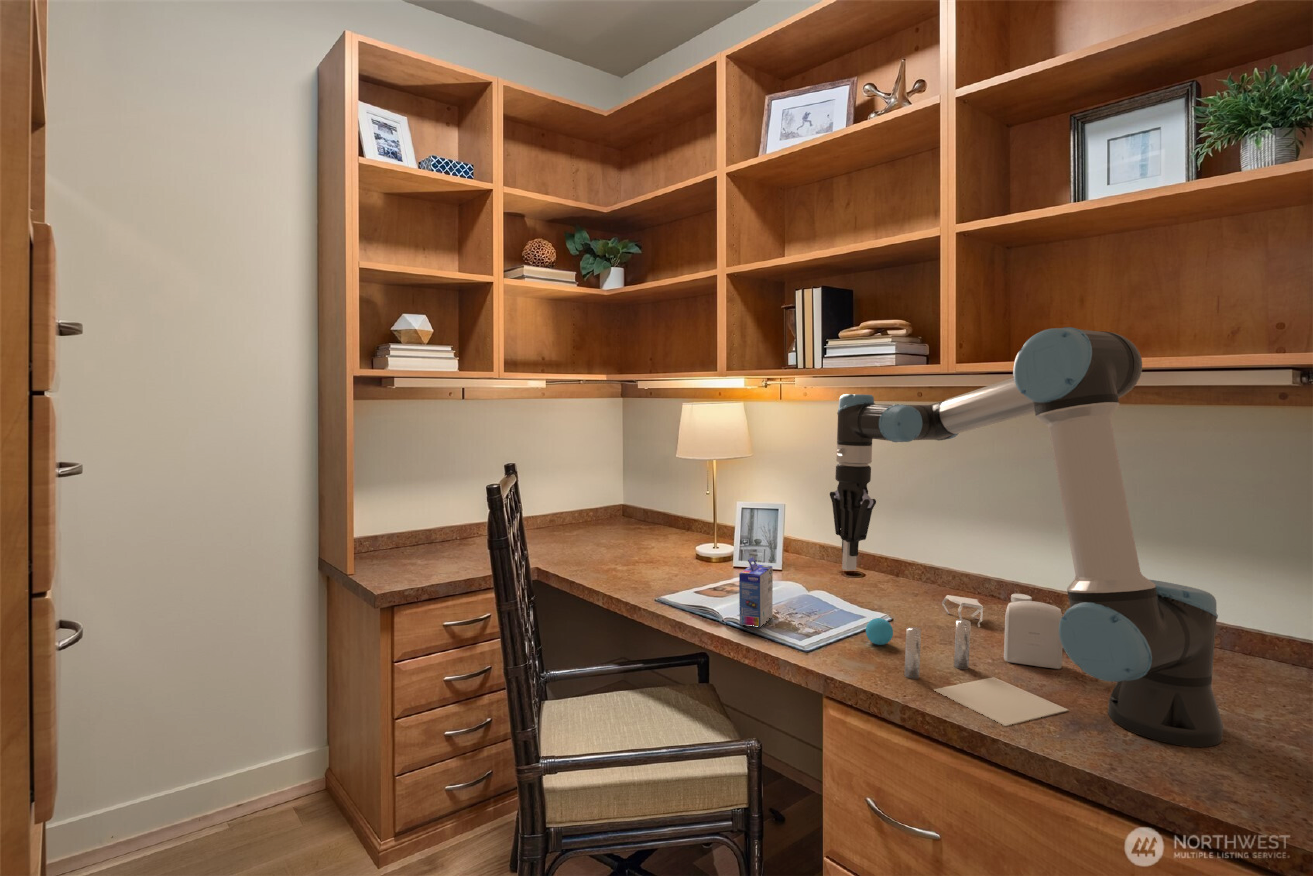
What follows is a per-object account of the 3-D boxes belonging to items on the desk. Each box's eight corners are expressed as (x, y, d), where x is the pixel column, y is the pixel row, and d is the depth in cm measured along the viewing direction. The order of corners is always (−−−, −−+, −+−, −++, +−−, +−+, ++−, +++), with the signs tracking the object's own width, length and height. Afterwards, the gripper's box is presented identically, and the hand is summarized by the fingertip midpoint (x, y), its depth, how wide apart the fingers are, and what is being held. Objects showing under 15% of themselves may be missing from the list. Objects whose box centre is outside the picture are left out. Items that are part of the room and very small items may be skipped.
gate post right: (971, 668, 139) (973, 622, 139) (961, 670, 138) (963, 624, 138) (960, 663, 142) (962, 618, 141) (951, 665, 141) (953, 620, 140)
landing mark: (1068, 710, 121) (1068, 709, 121) (1005, 726, 115) (1005, 725, 115) (993, 678, 135) (993, 677, 135) (933, 690, 128) (933, 689, 128)
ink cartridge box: (750, 613, 172) (752, 553, 171) (773, 617, 170) (774, 556, 169) (737, 625, 163) (738, 562, 162) (760, 629, 161) (762, 565, 160)
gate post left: (922, 677, 134) (924, 630, 134) (911, 679, 133) (913, 632, 133) (912, 672, 137) (913, 626, 136) (901, 674, 135) (903, 627, 135)
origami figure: (996, 622, 169) (997, 601, 168) (980, 629, 163) (981, 608, 163) (946, 610, 178) (947, 590, 177) (930, 617, 172) (931, 596, 172)
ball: (898, 646, 151) (899, 621, 150) (877, 650, 148) (878, 624, 148) (879, 638, 156) (880, 613, 155) (859, 641, 153) (860, 616, 153)
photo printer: (1003, 663, 143) (1006, 601, 142) (1002, 656, 146) (1005, 596, 146) (1062, 672, 138) (1066, 608, 138) (1060, 664, 142) (1063, 602, 142)
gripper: (821, 461, 163) (817, 564, 165) (859, 467, 151) (855, 578, 153) (847, 460, 166) (843, 561, 168) (887, 466, 154) (882, 575, 156)
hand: (849, 569), depth 160 cm, fingers closed
